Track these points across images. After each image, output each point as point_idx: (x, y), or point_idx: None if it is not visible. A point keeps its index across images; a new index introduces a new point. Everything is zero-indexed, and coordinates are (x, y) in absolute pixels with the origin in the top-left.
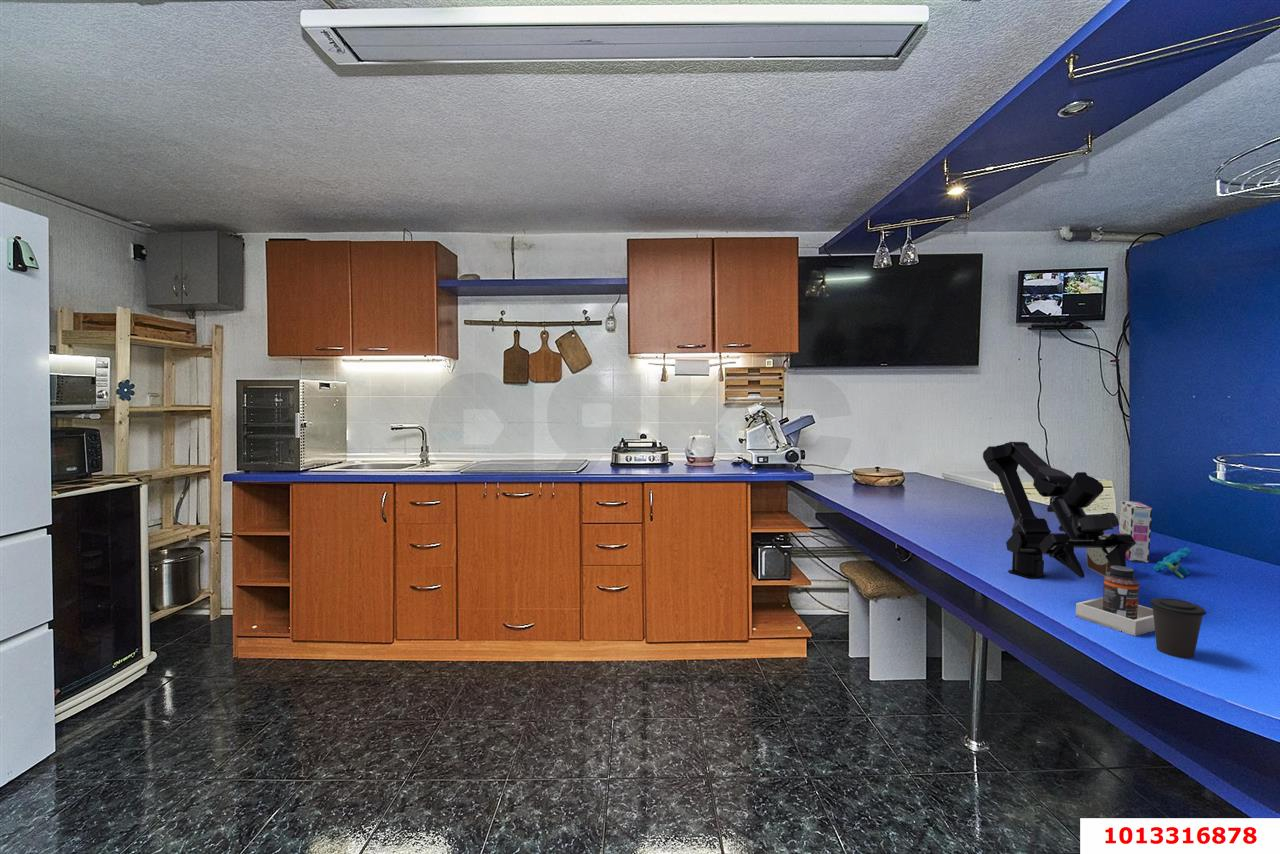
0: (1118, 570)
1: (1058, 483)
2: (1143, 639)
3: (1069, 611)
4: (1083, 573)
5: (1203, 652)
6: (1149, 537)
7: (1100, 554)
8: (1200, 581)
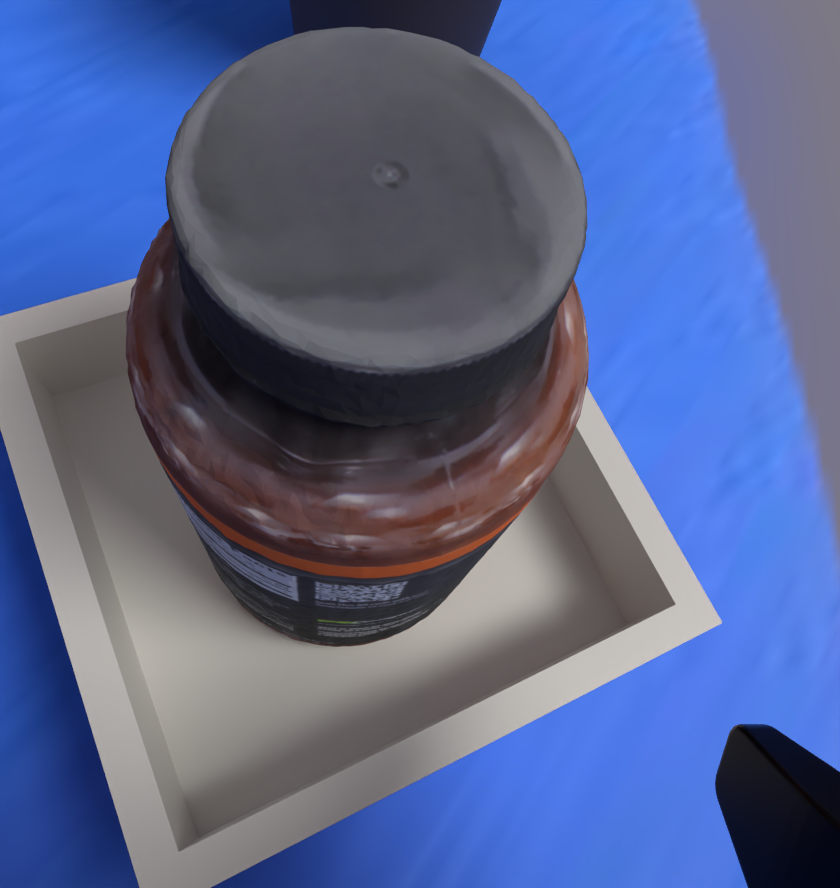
0: (541, 111)
1: None
2: None
3: (637, 794)
4: (776, 744)
5: (208, 44)
6: None
7: None
8: None
